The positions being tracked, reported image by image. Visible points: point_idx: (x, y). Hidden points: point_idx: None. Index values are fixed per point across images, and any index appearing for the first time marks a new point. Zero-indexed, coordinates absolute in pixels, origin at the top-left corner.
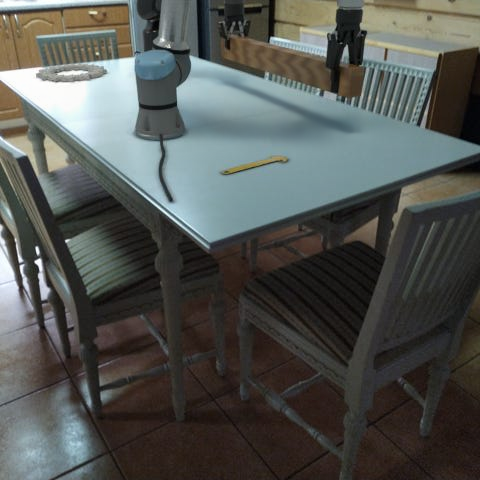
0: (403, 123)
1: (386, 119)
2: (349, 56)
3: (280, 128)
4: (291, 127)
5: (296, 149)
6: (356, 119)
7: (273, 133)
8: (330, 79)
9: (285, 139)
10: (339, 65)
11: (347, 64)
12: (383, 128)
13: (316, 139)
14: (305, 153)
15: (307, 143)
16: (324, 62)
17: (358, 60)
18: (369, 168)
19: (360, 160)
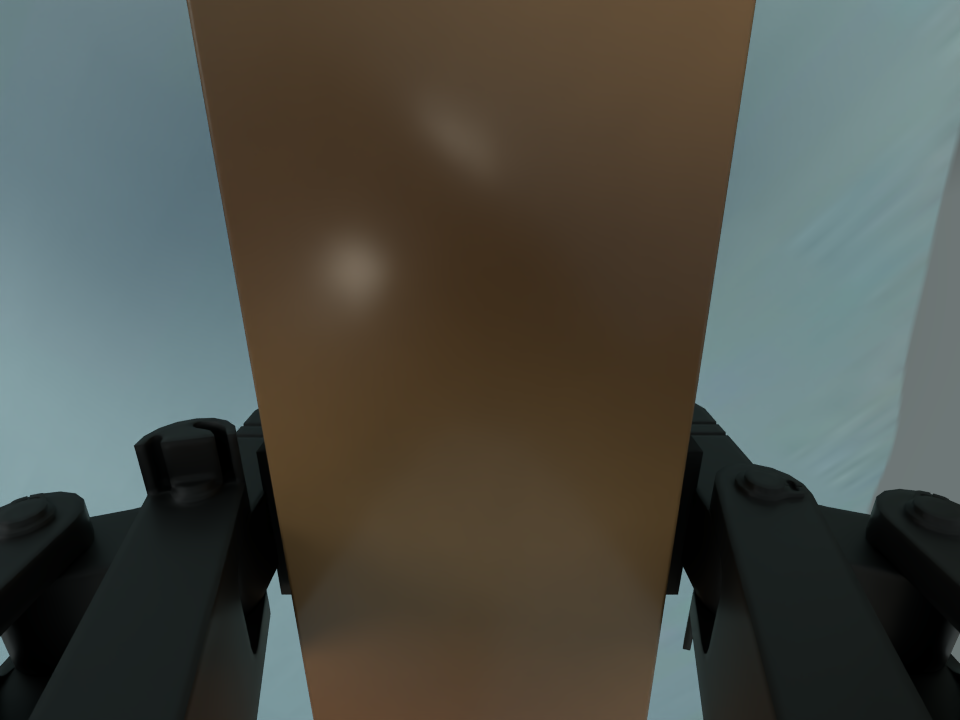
0: (891, 408)
1: (894, 296)
2: (751, 687)
3: (98, 47)
4: (190, 74)
5: (55, 433)
6: (736, 182)
7: (8, 124)
8: (258, 415)
9: (51, 273)
10: (322, 609)
11: (549, 613)
12: (712, 415)
13: (235, 367)
14: (80, 494)
15: (153, 392)
16: (201, 72)
17: (937, 632)
18: (262, 709)
19: (278, 650)
